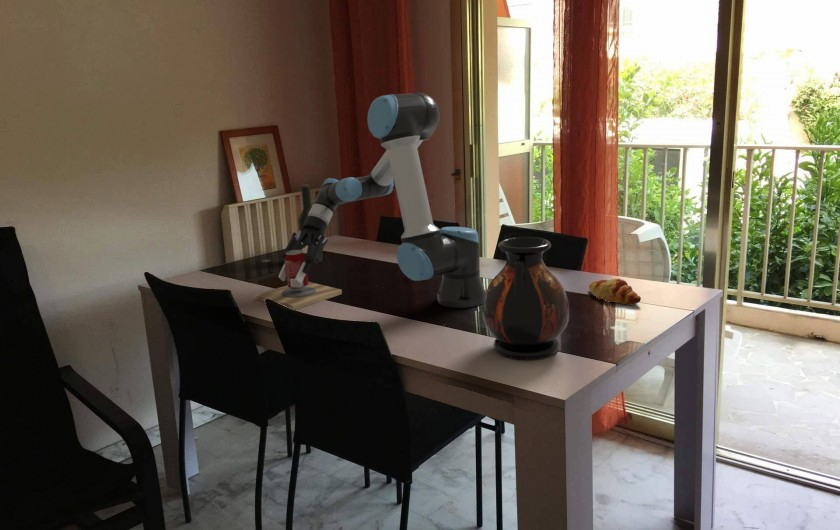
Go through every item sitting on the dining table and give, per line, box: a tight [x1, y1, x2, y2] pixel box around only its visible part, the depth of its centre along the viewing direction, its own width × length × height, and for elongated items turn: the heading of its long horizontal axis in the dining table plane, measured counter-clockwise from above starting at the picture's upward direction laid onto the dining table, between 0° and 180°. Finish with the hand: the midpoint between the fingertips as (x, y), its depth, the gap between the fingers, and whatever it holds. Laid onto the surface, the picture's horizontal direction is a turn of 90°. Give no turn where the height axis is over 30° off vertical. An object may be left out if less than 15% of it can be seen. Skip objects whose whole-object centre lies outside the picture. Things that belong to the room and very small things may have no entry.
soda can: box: [283, 250, 309, 289], centre depth 238 cm, size 7×7×12 cm
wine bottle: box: [297, 184, 324, 264], centre depth 282 cm, size 8×8×30 cm
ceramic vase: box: [481, 236, 570, 361], centre depth 182 cm, size 22×22×28 cm
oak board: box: [255, 281, 343, 310], centre depth 240 cm, size 20×20×2 cm
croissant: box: [588, 277, 642, 305], centre depth 220 cm, size 21×10×8 cm, turn 30°
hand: (289, 280), depth 236 cm, fingers closed on soda can, 7 cm apart
